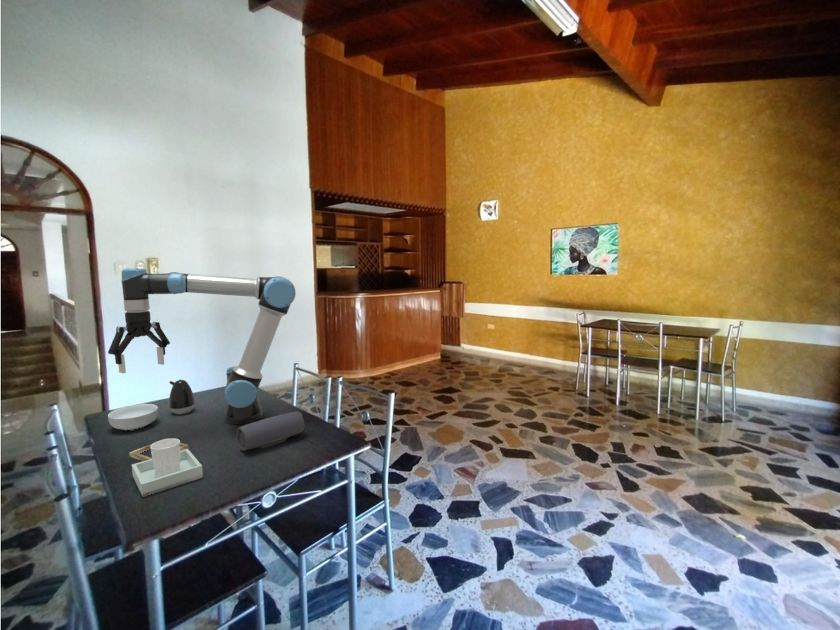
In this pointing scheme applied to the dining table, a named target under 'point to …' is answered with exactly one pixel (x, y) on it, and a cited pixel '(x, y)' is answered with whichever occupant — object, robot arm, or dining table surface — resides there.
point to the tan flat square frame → (137, 452)
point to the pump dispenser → (181, 397)
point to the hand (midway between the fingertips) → (142, 368)
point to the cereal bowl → (133, 416)
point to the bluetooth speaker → (270, 431)
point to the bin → (152, 485)
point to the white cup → (166, 456)
